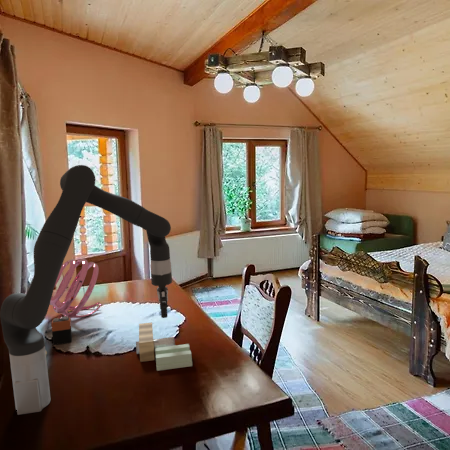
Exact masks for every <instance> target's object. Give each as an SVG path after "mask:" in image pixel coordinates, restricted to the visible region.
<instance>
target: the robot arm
mask: <svg viewBox="0 0 450 450" xmlns="http://www.w3.org/2000/svg"><path fill="white" fill-rule="evenodd" d="M59 186H60V189H61V190H62V191H61V194H60V197H59V199H58V201H57V203H56V205H55V207H54V208H53V210H52V211H51V212H50V213H49V215H48V217H47V218H46V220H45V222H44V224H43V225H42V227H41V229H40V231H39V234H38V235H37V237H36V241H35V243H34V247H33V254H32V255H33V265H34V270H33V271H34V272H33V277H32V281H31V282H30V283H31V284H30V285H29V287H28V290H27V292H26V293H23V292H15V293H11V294H10V295H8V296H6V298H5V299H4V300H3V302H2V304H1V306H0V324H1V329H2V335H3V340H4V344H5V345H6V346H7V349H8V354H9V362H10V372H11V379H12V388H13V397H14V406H15V411H16V410H17V411H16V413H17V415H18V416H19V415H27V414H32V413H39V412H42V410H43V409H44V408H46V407H47V406H48V405H49V404H50V403H51V391H50V381H49V373H48V372H49V371H48V362H47V361H48V360H47V355H46V351H47V350H46V343H45V337H44V334H42V333H41V332H40V331H39V330H38V329H37V327H39V326H40V325H41V324H42V323H43V322H44V321H45V318H46V317H47V314H48V311H49V307H50V306H51V305H50V301H51V297H52V296H53V293H54V290H55V287H56V286H55V283H56V280H57V278H58V275H59V272H60V269H61V266H62V264H64V261H65V258H66V256H67V255H68V251H69V250H70V246H71V244H72V242H73V238H74V236H75V232H76V230H77V227H78V224H79V222H80V221H79V220H80V218H81V214H82V211H83V209H84V206H85V205H86V203H88V204H90V205H93V206H96V207H97V208H100V209H102V210H105V211H107V212H108V213H111V214H113V215H115V216H117V217H118V218H121V219H122V220H124V221H126V222H128V223H129V224H132V225H134V226H136V227H138V228H142V229H143V230H144V231H146V237H147V241H148V244H149V254H150V257H149V258H150V265H149V267H150V279H151V283H150V284H151V285H153V286H155V287H157V288H156V295H157V300H158V303H159V308H160V317H161V319H165V318H168V308H169V305H168V301H169V296H168V295H169V289H168V285H169V286H170V285H171V284H172V283H173V277H172V275H173V274H172V273H173V272H172V262H171V253H170V252H171V251H170V245H169V243H168V242H167V240H166V237H167V236H168V235H169V234H170V232H171V229H172V227H171V224H170V222H169V220H168V219H167V218H165V217H163V216H161V215H159V214H157V213H155V212H152V211H150V210H149V209H147V208H145V207H144V206H142V205H140V203H139V204H138V203H137V202H135V201H133V200H131V199H129V198H127V197H124V196H122V195H118V194H114V193H112V192H109V191H107V190H103V189H102V188H100V187H98V186H97V185H96V176H95V173H94V170H92V168H91V167H89V166H88V165H85V164H77V165H75V166H72V167H70V168H69V169H68V170H67V171H65V173H64V174H63V175H62V176H61V177H60V181H59Z"/></svg>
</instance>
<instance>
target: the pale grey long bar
mask: <svg viewBox="0 0 450 450" xmlns="http://www.w3.org/2000/svg"><path fill="white" fill-rule="evenodd" d="M153 343H154V353H156V352H155V348H159V347H167V346H175V345H176V341H175V337H174V336H171V337H161V338H153ZM135 348H136V349H135V351H136V355H140V352H139V340H138V341H135Z"/></svg>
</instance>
